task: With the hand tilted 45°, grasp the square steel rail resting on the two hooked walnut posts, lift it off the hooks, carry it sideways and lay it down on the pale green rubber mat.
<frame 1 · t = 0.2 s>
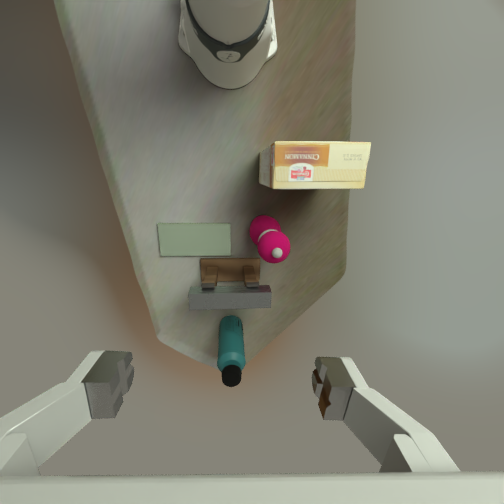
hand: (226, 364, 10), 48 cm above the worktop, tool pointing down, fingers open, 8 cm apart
mat: (195, 239, 57), on the worktop
stand: (230, 268, 60), on the worktop
pepper mill: (262, 227, 58), on the worktop
coffeecake box: (290, 168, 54), on the worktop
beverage bottle: (231, 320, 66), on the worktop
rail: (230, 293, 48), point 13 cm above the worktop, touching stand
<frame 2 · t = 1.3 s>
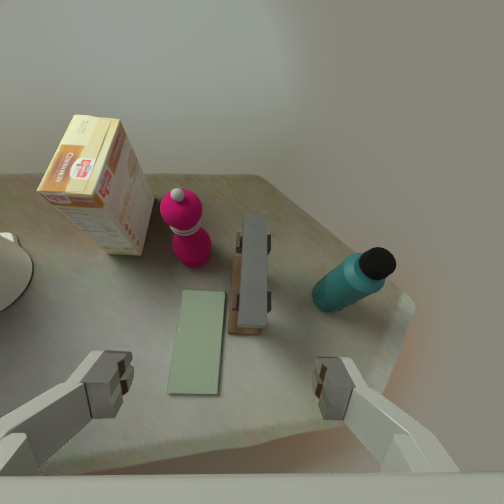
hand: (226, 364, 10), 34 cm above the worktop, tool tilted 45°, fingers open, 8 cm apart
mat: (199, 338, 42), on the worktop
stand: (245, 294, 46), on the worktop
pepper mill: (194, 254, 49), on the worktop
coffeecake box: (132, 224, 50), on the worktop
beverage bottle: (323, 298, 48), on the worktop
rail: (252, 271, 34), point 13 cm above the worktop, touching stand
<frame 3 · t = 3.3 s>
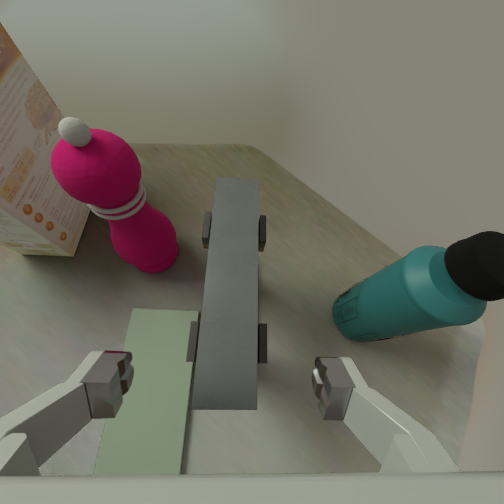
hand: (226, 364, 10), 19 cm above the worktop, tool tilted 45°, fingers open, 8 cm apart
mat: (153, 388, 26), on the worktop
stand: (230, 313, 30), on the worktop
pepper mill: (155, 253, 33), on the worktop
coffeecake box: (67, 211, 35), on the worktop
beverage bottle: (348, 317, 32), on the worktop
rail: (231, 282, 18), point 13 cm above the worktop, touching stand
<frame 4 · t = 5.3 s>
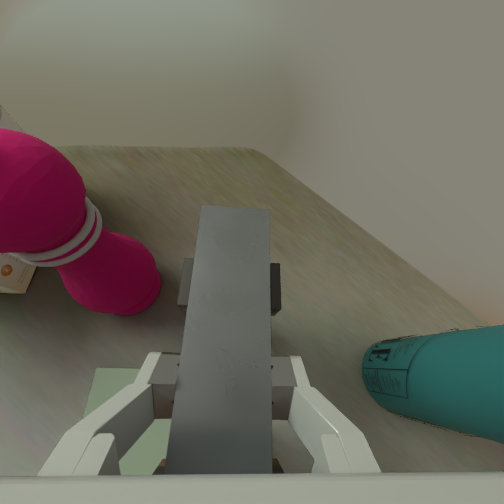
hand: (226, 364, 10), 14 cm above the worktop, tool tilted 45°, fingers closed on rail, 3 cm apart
mat: (120, 486, 19), on the worktop
stand: (227, 370, 23), on the worktop
pepper mill: (132, 287, 26), on the worktop
coffeecake box: (22, 232, 27), on the worktop
beverage bottle: (380, 373, 24), on the worktop
rail: (225, 378, 11), point 13 cm above the worktop, touching gripper, stand
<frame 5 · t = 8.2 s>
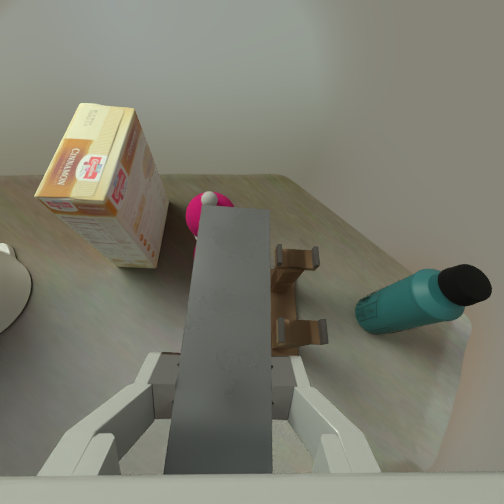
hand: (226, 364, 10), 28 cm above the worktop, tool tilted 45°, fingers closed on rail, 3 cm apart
stand: (277, 312, 40), on the worktop
pepper mill: (216, 265, 43), on the worktop
coffeecake box: (145, 232, 44), on the worktop
beverage bottle: (366, 316, 41), on the worktop
rail: (225, 379, 11), point 27 cm above the worktop, touching gripper
when the fingers open (5 cm above the worktop, at t = 11.2 s): rail drops 3 cm, resting on mat.
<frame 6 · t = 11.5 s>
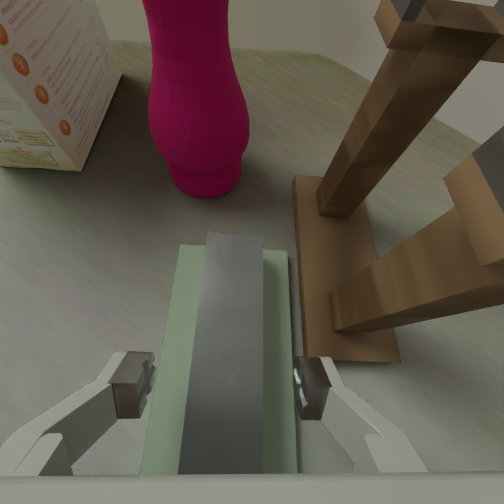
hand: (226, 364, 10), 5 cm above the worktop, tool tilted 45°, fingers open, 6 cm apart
mat: (226, 375, 14), on the worktop
stand: (333, 258, 19), on the worktop
pepper mill: (206, 173, 22), on the worktop
coffeecake box: (71, 115, 23), on the worktop
rail: (227, 376, 14), point 1 cm above the worktop, touching mat
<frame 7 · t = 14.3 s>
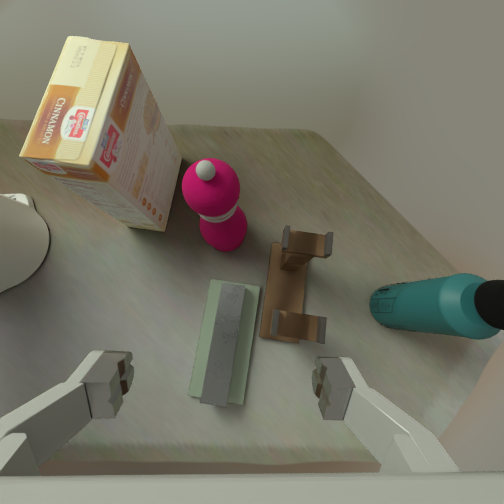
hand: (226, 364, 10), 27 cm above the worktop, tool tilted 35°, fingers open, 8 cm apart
mat: (226, 337, 36), on the worktop
stand: (284, 290, 38), on the worktop
pepper mill: (226, 234, 40), on the worktop
coffeecake box: (156, 191, 42), on the worktop
beverage bottle: (382, 306, 38), on the worktop
rail: (226, 338, 35), point 1 cm above the worktop, touching mat
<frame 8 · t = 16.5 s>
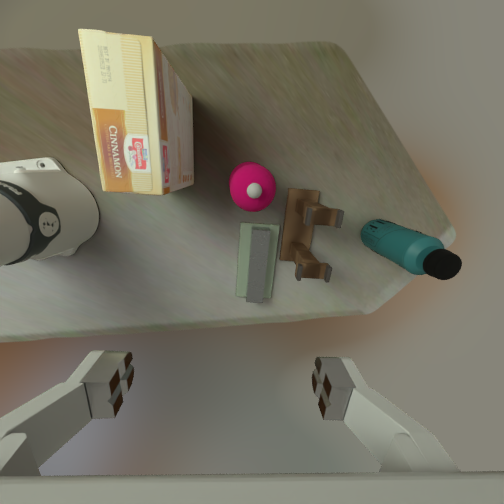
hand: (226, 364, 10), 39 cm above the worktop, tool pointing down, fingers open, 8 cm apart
mat: (256, 261, 51), on the worktop
stand: (297, 226, 49), on the worktop
pepper mill: (248, 182, 46), on the worktop
coffeecake box: (174, 141, 42), on the worktop
beverage bottle: (370, 231, 50), on the worktop
rail: (256, 262, 50), point 1 cm above the worktop, touching mat
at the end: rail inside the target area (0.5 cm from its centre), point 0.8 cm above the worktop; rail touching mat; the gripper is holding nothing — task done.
